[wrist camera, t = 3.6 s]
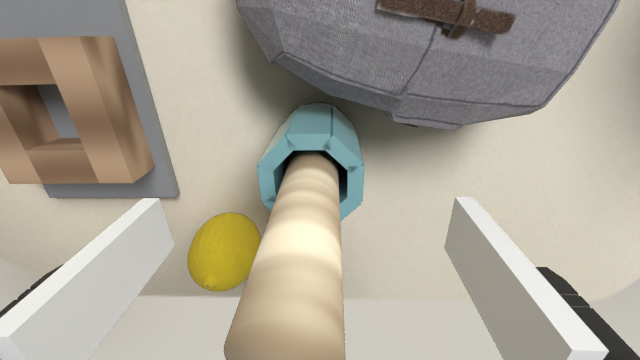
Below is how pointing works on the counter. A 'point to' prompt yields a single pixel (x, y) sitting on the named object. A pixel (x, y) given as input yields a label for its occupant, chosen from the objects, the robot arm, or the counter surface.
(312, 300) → the dowel
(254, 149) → the counter surface
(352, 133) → the cup
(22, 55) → the frame
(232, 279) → the lemon
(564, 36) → the grey rounded bag
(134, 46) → the tray
